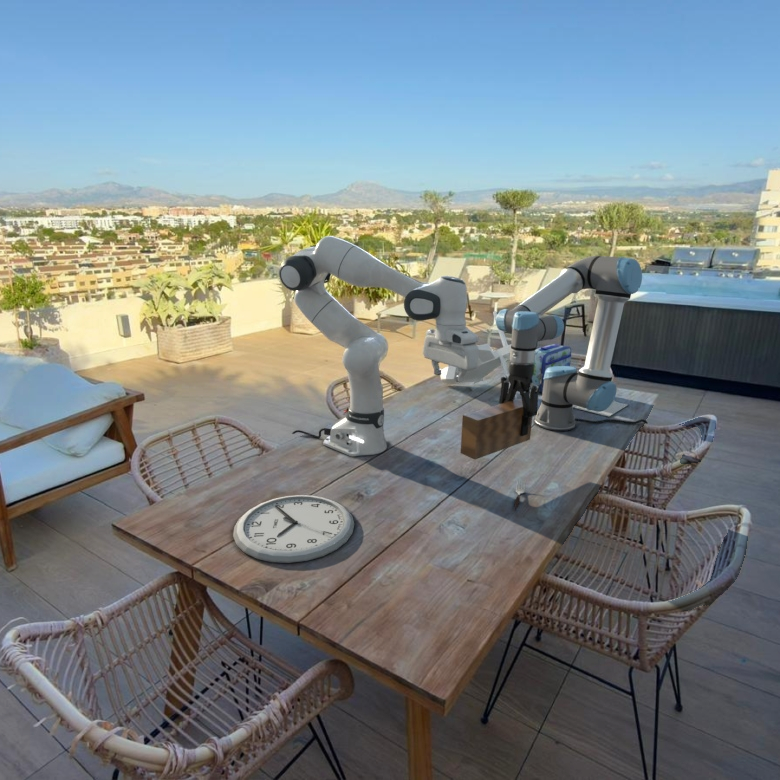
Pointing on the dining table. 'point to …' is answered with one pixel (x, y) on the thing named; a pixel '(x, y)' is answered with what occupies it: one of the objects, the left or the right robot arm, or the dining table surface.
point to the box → (493, 429)
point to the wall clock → (293, 529)
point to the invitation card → (609, 411)
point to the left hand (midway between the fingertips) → (448, 378)
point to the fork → (519, 491)
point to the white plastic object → (482, 363)
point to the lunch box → (549, 361)
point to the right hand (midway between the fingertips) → (515, 431)
